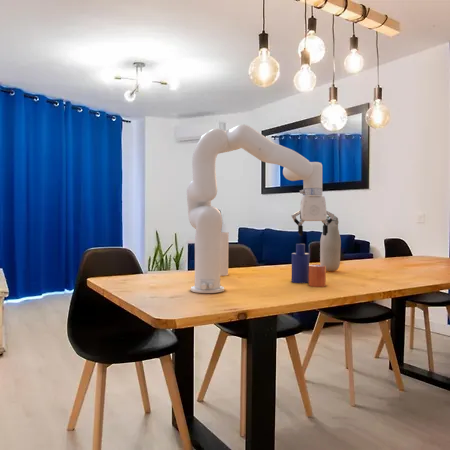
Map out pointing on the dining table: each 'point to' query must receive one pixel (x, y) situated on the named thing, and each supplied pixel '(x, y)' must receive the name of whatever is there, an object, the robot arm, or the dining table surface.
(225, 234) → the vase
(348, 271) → the dining table surface
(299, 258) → the water bottle
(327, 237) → the grey bottle
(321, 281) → the cup
